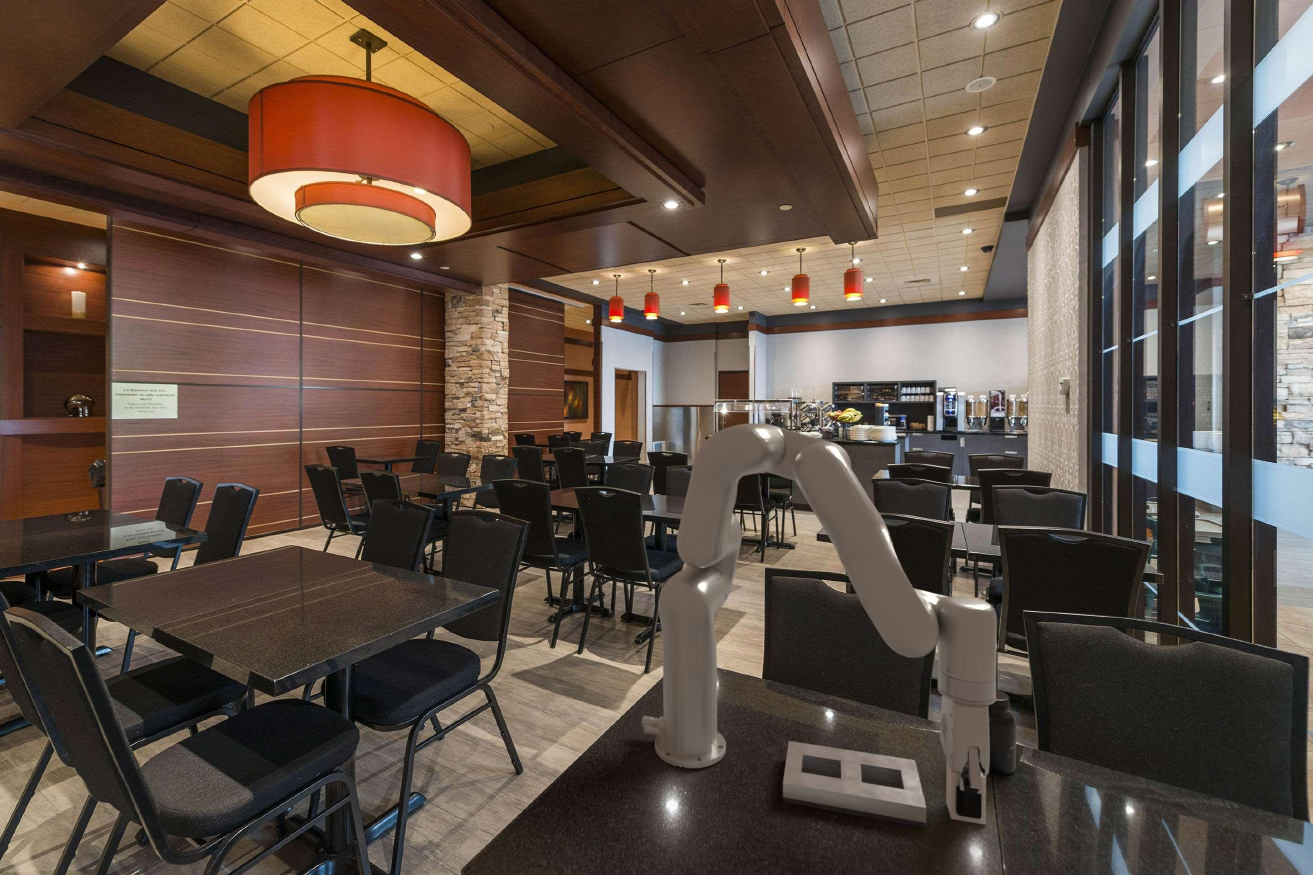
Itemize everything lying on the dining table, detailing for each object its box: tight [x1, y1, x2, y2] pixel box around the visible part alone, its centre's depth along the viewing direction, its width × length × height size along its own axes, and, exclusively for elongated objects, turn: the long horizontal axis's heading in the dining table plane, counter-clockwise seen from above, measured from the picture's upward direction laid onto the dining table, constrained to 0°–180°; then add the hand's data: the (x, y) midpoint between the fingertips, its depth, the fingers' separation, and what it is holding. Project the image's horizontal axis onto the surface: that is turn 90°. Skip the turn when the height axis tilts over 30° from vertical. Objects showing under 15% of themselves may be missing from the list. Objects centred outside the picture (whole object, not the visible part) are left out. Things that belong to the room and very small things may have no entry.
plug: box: [945, 761, 987, 826], centre depth 85 cm, size 4×4×7 cm
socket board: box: [782, 740, 927, 829], centre depth 91 cm, size 20×12×3 cm, turn 73°
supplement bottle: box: [988, 689, 1017, 776], centre depth 97 cm, size 7×7×12 cm
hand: (965, 805), depth 85 cm, fingers closed on plug, 3 cm apart
